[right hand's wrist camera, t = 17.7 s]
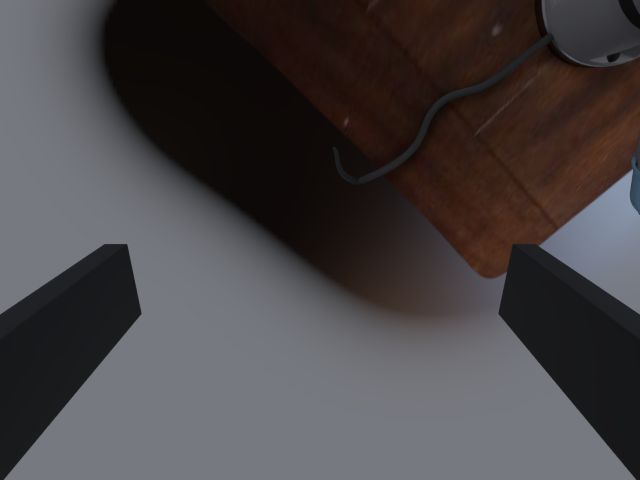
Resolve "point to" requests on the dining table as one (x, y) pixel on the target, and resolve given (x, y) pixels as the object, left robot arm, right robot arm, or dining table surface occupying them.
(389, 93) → the dining table surface
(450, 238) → the dining table surface
